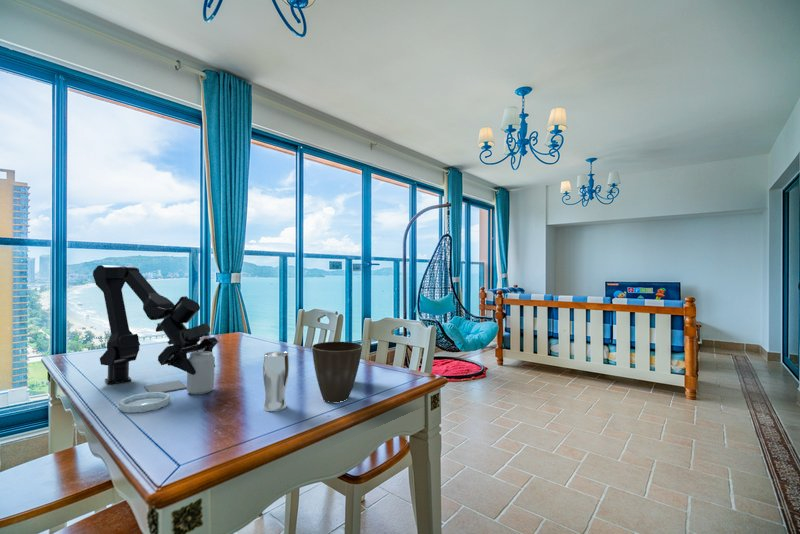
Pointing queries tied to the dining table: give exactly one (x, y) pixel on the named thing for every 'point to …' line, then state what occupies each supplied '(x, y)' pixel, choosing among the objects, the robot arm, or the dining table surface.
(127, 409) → the dish
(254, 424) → the dining table surface
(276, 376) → the beer glass
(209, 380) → the can
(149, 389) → the mat
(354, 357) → the plant pot
